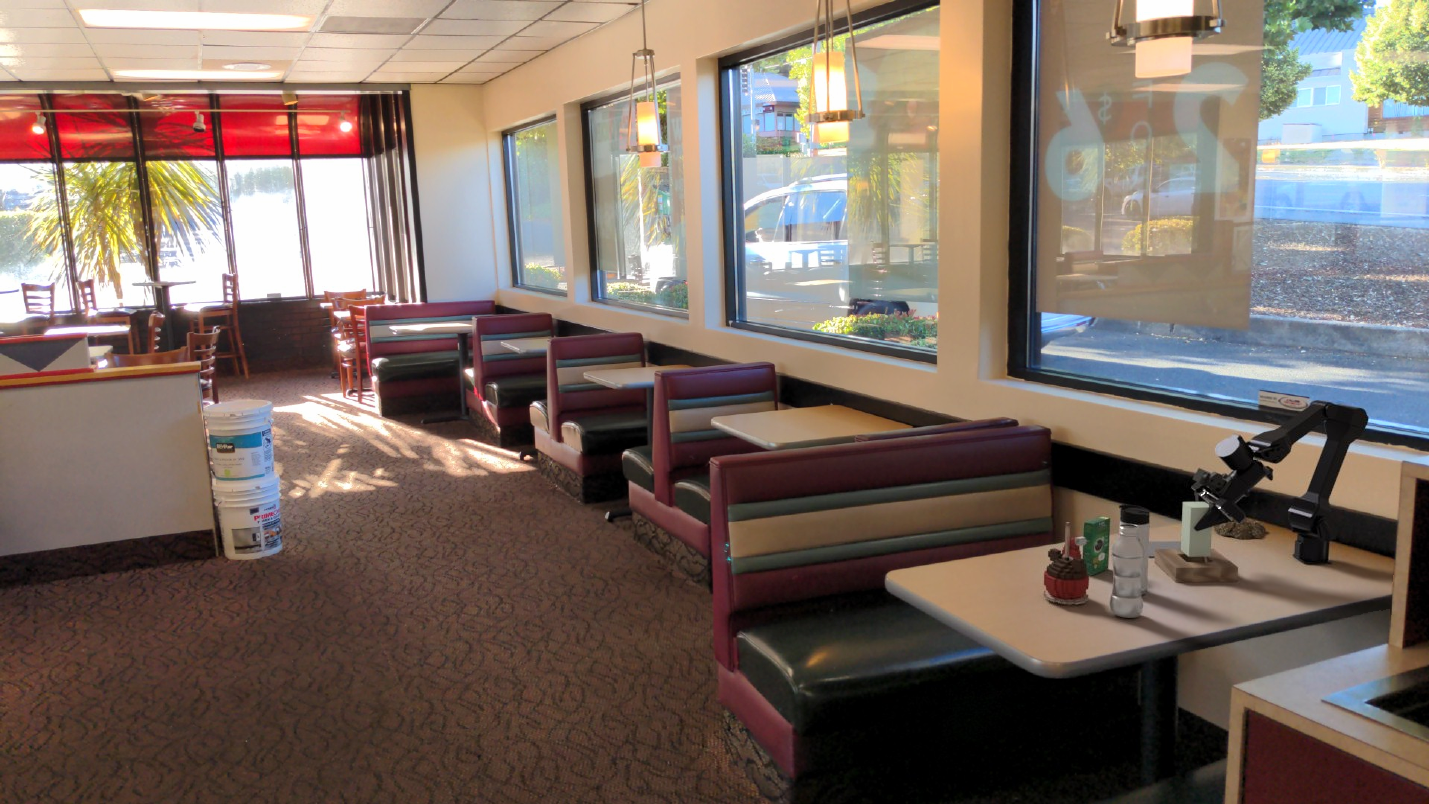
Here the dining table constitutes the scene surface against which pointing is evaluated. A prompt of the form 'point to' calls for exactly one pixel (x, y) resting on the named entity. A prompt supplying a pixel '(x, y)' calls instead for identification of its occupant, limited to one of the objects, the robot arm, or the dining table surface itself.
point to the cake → (1067, 572)
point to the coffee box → (1096, 544)
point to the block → (1191, 539)
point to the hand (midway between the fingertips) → (1190, 526)
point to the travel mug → (1141, 519)
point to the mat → (1162, 546)
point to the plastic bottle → (1127, 573)
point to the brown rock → (1241, 529)
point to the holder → (1195, 566)
